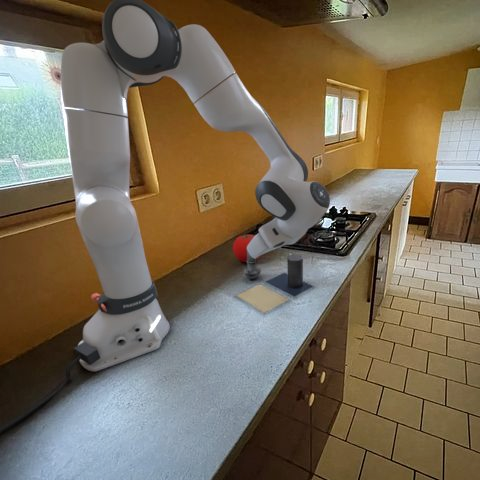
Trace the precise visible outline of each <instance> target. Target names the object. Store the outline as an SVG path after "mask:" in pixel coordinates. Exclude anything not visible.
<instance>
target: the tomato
mask: <svg viewBox="0 0 480 480" xmlns="http://www.w3.org/2000/svg"><path fill="white" fill-rule="evenodd" d="M254 237H255V234H248V233H247V234H243V235H240V236H238V237H237V238H236V239H235V240H234V242H233V245H232V251H233V254H234V256H235V258H236V260H238V261H239V262H241V263H247V262H246V260H247V252H248V251H247V246H248V244H249V243H250V242H251V240H252V239H253V238H254ZM261 257H262V255H260V256H259V257H258V258H256V260H257V261H258V260H259V259H260V258H261Z"/></svg>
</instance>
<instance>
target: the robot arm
mask: <svg viewBox="0 0 480 480" xmlns="http://www.w3.org/2000/svg"><path fill="white" fill-rule="evenodd" d="M101 32H102V38H103V40H102V41H100V42H99V43H94V44H93V43H89V42H73V43H71V44H69V45H67V46H66V47H65V48H64V49H63V51H62V55H61V62H60V97H61V106H62V113H63V121H64V128H65V129H64V130H65V137H66V138H65V139H66V144H67V153H68V158H69V165H70V173H71V177H72V184H73V192H74V198H75V214H74V215H75V222H76V225H77V226H78V230H79V233H80V236H81V238H82V241H83V242H84V245H85V247H86V250H87V252H88V254H89V257H90V259H91V262H92V263H93V266H94V269H95V272H96V275H97V278H98V280H99V282H100V286H101V288H102V291H103V292H102V293H101V294H100V293H98V292H94V293H93V294H91V296H90V299H91V300H92V302H93V303H95V304H97V306H98V310H97V311H96V312H95V314H93V316H92V317H91V318H90V319H89V320H88V321H87V322H86V323H85V324H84V326H83V328H82V340H80V341H79V342H78V344H77V346H75V347H73V350H74V353H75V355H76V358H75V359H73V361H72V362H71V363H70V364H69V365H68V366H67V368H66V370H65V378H64V380H63V382H62V383H61V384H60V386H58V388H56V389H55V390H54V391H53V392H51V393H50V394H49V395H47V396H46V397H45V398H43V399H42V400H40V401H39V402H38V403H36V404H34V405H33V406H32V407H30V408H29V409H28V410H26V411H25V412H24V413H22V414H20V415H19V416H17V417H16V418H14V419H12V420H11V421H10V422H8V423H6V424H4V425H3V426H1V427H0V434H1V433H3V432H5V430H7V429H10V428H11V427H12V426H14V425H16V424H17V423H19V422H21V421H22V420H24V418H25V419H26V417H28V416H30V415H31V414H32V413H34V412H35V411H36V410H38V409H39V408H40V407H41V406H43V405H44V404H46V403H47V402H48V401H50V400H51V399H53V398H54V397H55V396H56V395H57V394H58V393H59V391H61V390H62V389H63V388H64V387H65V386H66V385H67V384H68V382H69V381H70V379H71V370H72V369H73V367H74V366H75V365H76V364H77V363H78V362H79V364H80V366H82V367H83V368H84V369H86V370H87V371H89V372H94V373H95V372H98V371H102V370H105V369H108V368H109V367H112V366H113V367H114V366H115V365H118V364H121V363H123V362H126V361H129V360H132V359H134V358H137V357H140V356H143V355H146V354H147V353H151V352H153V351H156V350H158V349H160V347H161V344H162V342H163V339H165V337H166V336H167V335H168V333H169V331H170V328H171V326H170V322H169V321H168V319H167V318H166V316H165V315H164V312H163V311H162V308H161V306H160V304H159V294H158V291H157V287H156V285H155V282H154V281H153V280H152V278H151V273H150V270H149V265H148V263H147V258H146V254H145V249H144V242H143V239H142V234H141V233H142V232H141V229H140V223H139V219H138V215H137V212H136V208H135V207H134V206H133V204H132V201H131V195H130V174H131V173H130V172H131V171H130V170H131V169H130V168H131V149H130V146H131V145H130V131H129V130H130V129H129V128H130V127H129V114H128V113H129V112H128V93H129V92H128V91H129V89H131V88H132V89H133V88H137V87H138V88H139V87H145V86H151V85H154V84H157V83H159V82H161V81H162V79H163V78H164V77H168V78H171V79H173V80H174V81H175V82H177V83H178V85H180V87H181V88H182V89H183V90H184V91H185V93H186V94H187V96H188V98H189V99H190V101H191V102H192V104H193V105H194V107H195V108H196V110H197V112H198V113H199V114H200V116H201V118H202V119H203V120H204V121H205V122H206V123H207V124H208V126H210V127H211V128H212V129H214V130H216V131H219V132H222V133H235V132H243V133H246V134H248V135H249V136H251V137H252V139H253V140H254V141H255V142H256V143H257V145H258V146H259V147H260V149H261V151H262V152H263V153H264V154H265V156H266V157H267V158H268V160H269V164H270V167H269V169H268V170H267V172H266V173H265V174H264V175H263V177H262V178H261V179H260V181H259V182H258V183H257V185H256V187H255V190H254V195H255V199H256V201H257V204H258V205H259V206H260V208H261V209H262V210H264V211H265V212H266V213H268V214H269V215H271V216H273V217H274V218H273V219H272V220H270V221H268V222H266V223H264V224H263V225H261V226H260V227H259V228H258V232H257V234H254V236H255V237H254V238H253V239H252V240H251V242H250V243H249V244H248V246H247V251H248V253H249V254H250V256H251V257H252V258H254V259H256V258H258V257H259V256H260V255H261V256H263V255H265V254H267V253H269V252H271V251H274V250H279V249H281V248H282V247H284V246H290V245H294V244H296V243H297V242H298V241H299V240H300V239H301V238H302V237H303V236H305V235H306V233H307V232H308V230H309V229H311V228H313V227H314V226H315V225H316V224H317V223H318V222H320V220H321V219H322V218H323V217H324V216H325V214H326V213H327V211H328V210H329V208H330V205H331V204H330V203H331V199H330V194H329V192H328V190H327V188H326V187H325V186H324V185H323V184H322V183H321V182H319V181H317V180H313V181H308V178H309V170H308V167H307V163H306V162H305V161H304V159H303V158H302V157H301V156H300V155H299V154H298V153H296V152H295V150H293V149H292V148H291V146H290V145H289V144H288V142H287V141H286V139H285V138H284V136H283V135H282V133H281V131H280V129H278V127H277V125H276V124H275V122H274V120H272V118H271V117H270V115H269V114H268V113H267V111H266V110H265V108H264V107H263V106H262V104H260V102H259V101H258V100H257V99H255V98H254V97H253V96H252V94H250V92H249V90H248V89H247V87H246V86H245V85H244V83H243V81H242V80H241V79H240V77H239V75H238V73H237V72H236V70H235V68H234V66H233V65H232V63H231V61H230V59H229V58H228V57H227V55H226V53H225V52H224V51H223V49H222V47H220V45H219V44H218V42H217V41H216V40H215V37H213V36H212V35H211V33H210V32H209V30H207V29H206V28H205V27H204V26H202V25H200V24H195V23H193V24H187V25H185V26H182V27H180V28H178V27H177V25H176V24H175V22H173V21H172V20H170V19H169V18H168V17H166V16H165V15H163V14H161V12H159V11H157V10H156V9H155V8H154V7H152V6H151V5H150V4H148V3H147V2H145V1H143V0H113V1H111V2H110V3H109V4H108V5H107V7H106V8H105V10H104V12H103V16H102V21H101Z"/></svg>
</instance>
